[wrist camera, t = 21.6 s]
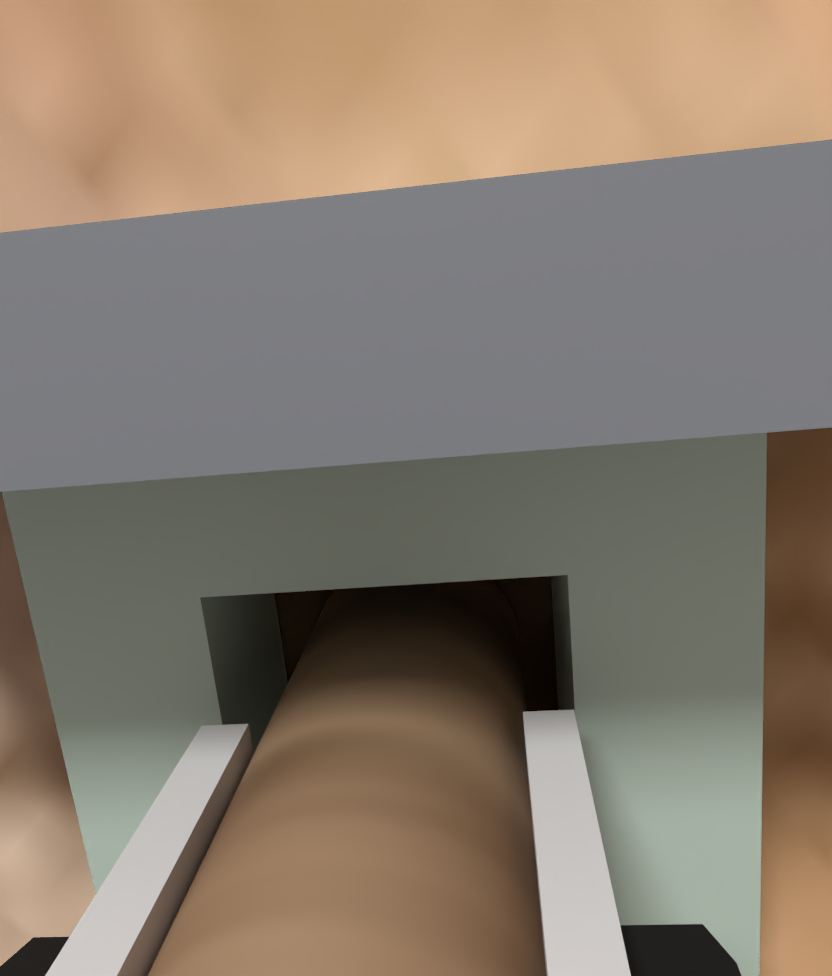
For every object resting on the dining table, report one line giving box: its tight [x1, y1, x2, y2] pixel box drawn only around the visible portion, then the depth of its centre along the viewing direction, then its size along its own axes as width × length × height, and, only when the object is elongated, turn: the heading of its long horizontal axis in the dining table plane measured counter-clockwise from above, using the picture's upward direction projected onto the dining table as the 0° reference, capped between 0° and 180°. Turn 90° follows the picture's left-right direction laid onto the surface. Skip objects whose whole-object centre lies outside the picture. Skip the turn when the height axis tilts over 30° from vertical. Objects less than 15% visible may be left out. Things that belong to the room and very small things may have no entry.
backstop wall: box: [0, 140, 832, 492], centre depth 11 cm, size 2×24×10 cm, turn 95°
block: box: [2, 433, 767, 976], centre depth 15 cm, size 12×12×4 cm
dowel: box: [148, 580, 546, 976], centre depth 10 cm, size 4×4×14 cm
